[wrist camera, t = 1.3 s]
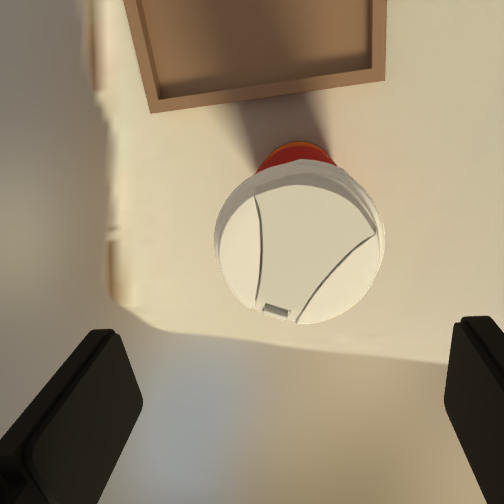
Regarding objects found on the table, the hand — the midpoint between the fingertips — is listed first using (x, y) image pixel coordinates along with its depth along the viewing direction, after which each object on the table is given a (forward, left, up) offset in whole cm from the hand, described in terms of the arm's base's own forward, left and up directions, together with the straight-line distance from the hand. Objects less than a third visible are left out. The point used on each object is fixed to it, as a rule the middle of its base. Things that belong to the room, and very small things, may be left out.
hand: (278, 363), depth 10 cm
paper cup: (-1, 0, -20) cm, 20 cm away
